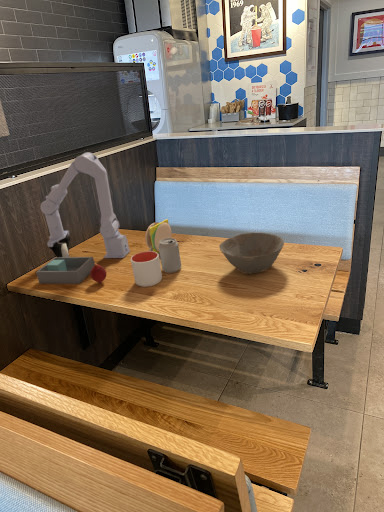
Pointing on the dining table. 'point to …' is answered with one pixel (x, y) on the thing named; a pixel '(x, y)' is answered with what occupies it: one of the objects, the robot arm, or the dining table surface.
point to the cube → (57, 265)
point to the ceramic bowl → (252, 251)
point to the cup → (146, 268)
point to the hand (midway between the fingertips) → (63, 255)
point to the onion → (98, 273)
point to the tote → (75, 271)
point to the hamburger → (157, 234)
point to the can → (169, 255)
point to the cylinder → (64, 250)
